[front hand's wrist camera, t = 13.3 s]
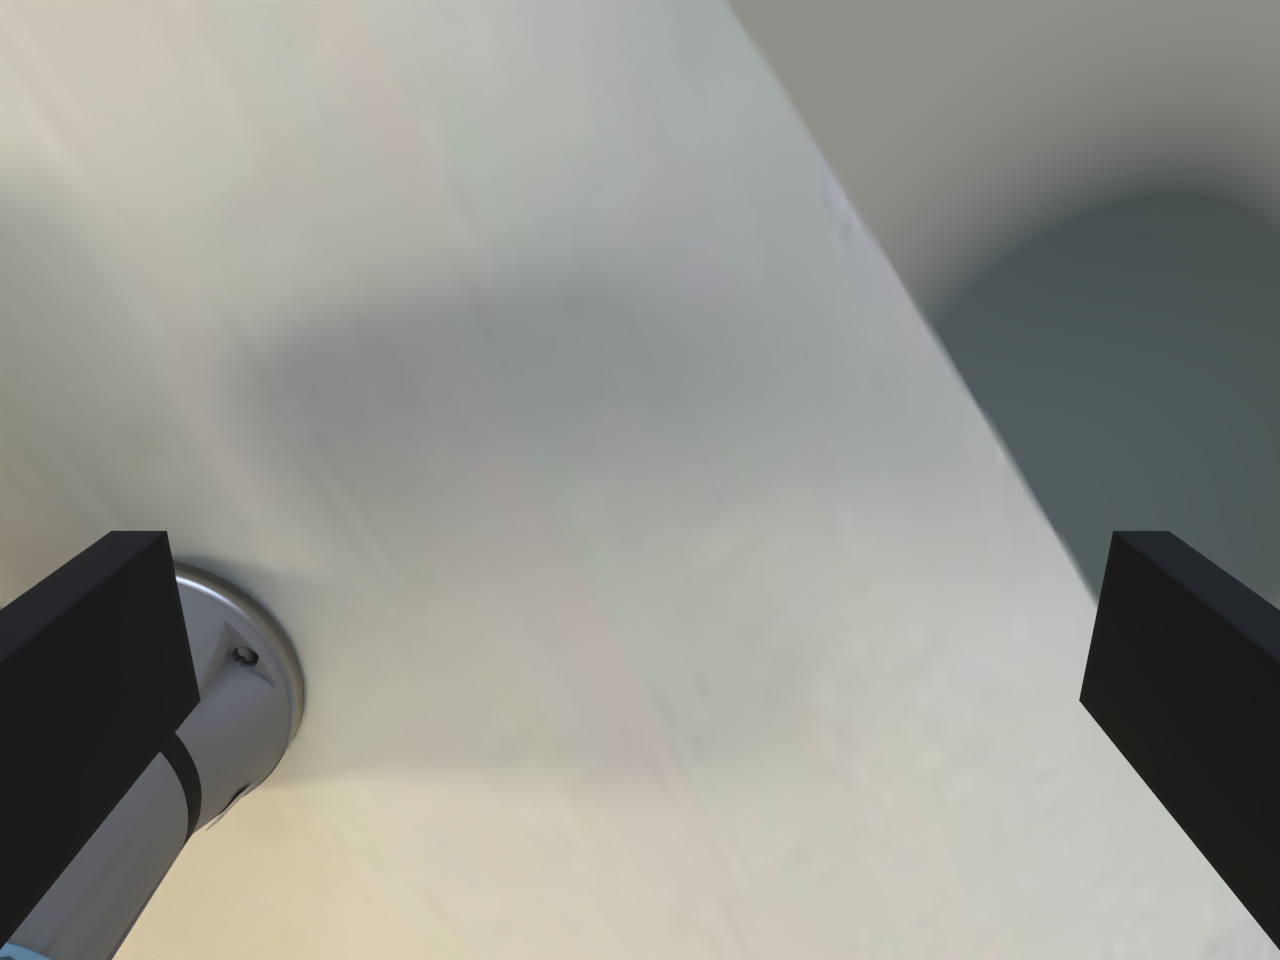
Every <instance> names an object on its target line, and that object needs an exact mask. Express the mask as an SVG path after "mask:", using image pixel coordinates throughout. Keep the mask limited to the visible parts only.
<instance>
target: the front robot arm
mask: <svg viewBox="0 0 1280 960" xmlns="http://www.w3.org/2000/svg"><path fill="white" fill-rule="evenodd" d="M303 698H304V693H303V682H302V676H301V671H300V668H299V665H298V662H297V659H296V656H295V654H294V652H293V649H292V647H291V646H290V644H289V642H288V640H287V638H286V637H285V635H284V634H283V632H282V631H281V629H280V628H279V626H278V625H277V624H276V623H275V621H274V620H273V619H272V618H271V617H270V615H269V614H268V613H267V612H266V611H265V610H264V609H263V608H262V607H261V606H260V605H258V604H257V603H256V602H255V601H254V600H253V599H252V598H250V597H249V596H248V595H246V594H245V593H244V592H242V591H241V590H240V589H238V588H237V587H235V586H233V585H232V584H230V583H228V582H227V581H225V580H223V579H221V578H219V577H217V576H215V575H213V574H211V573H208V572H206V571H203V570H201V569H198V568H195V567H192V566H189V565H186V564H181V563H177V562H173V560H172V555H171V550H170V545H169V540H168V535H167V531H111V532H109V533H108V534H107V535H105V536H104V537H102V538H101V539H100V540H98V541H97V542H95V543H94V544H93V545H91V546H90V547H88V548H87V549H86V550H84V551H83V552H81V553H80V554H79V555H77V556H76V557H74V558H73V559H72V560H70V561H69V562H67V563H66V564H65V565H63V566H62V567H60V568H59V569H58V570H56V571H55V572H53V573H52V574H51V575H49V576H48V577H46V578H45V579H44V580H42V581H41V582H39V583H38V584H37V585H35V586H34V587H32V588H31V589H30V590H28V591H27V592H25V593H24V594H23V595H21V596H20V597H18V598H17V599H16V600H14V601H13V602H11V603H10V604H9V605H7V606H6V607H4V608H3V609H2V610H0V960H112V959H113V957H114V956H115V954H116V952H117V951H118V949H119V948H120V946H121V945H122V943H123V941H124V940H125V938H126V937H127V935H128V934H129V932H130V930H131V929H132V927H133V926H134V924H135V923H136V921H137V919H138V918H139V916H140V915H141V913H142V912H143V910H144V908H145V907H146V905H147V904H148V902H149V901H150V899H151V897H152V896H153V894H154V893H155V891H156V890H157V888H158V886H159V885H160V883H161V882H162V880H163V879H164V877H165V875H166V874H167V872H168V871H169V869H170V868H171V866H172V864H173V863H174V861H175V860H176V858H177V857H178V855H179V853H180V852H181V850H182V849H183V847H184V846H185V844H186V843H187V841H188V840H189V838H190V837H191V835H192V834H193V833H194V832H196V831H197V830H199V829H200V828H201V827H203V826H204V825H205V824H207V823H208V822H210V821H211V820H212V819H214V818H215V817H216V816H218V815H219V814H221V813H222V812H223V811H224V812H223V813H222V814H221V815H220V816H219V817H218V818H217V819H216V820H215V821H214V822H213V823H212V824H211V826H210V827H209V828H211V827H212V826H213V825H215V824H216V823H217V822H219V821H220V820H221V819H222V818H223V816H224V815H225V814H226V813H227V812H228V811H229V810H230V809H231V808H232V807H233V806H234V805H235V804H236V803H237V802H238V801H239V799H241V798H242V797H243V796H245V795H246V794H248V793H249V792H250V791H252V790H253V789H255V788H256V787H257V786H259V785H260V784H261V783H262V782H263V781H264V780H265V779H266V778H267V777H268V776H269V775H270V774H271V773H272V772H273V770H274V769H275V768H276V766H277V765H278V763H279V762H280V760H281V758H282V757H283V755H284V753H285V751H286V750H287V748H288V746H289V745H290V743H291V741H292V740H293V738H294V736H295V734H296V731H297V729H298V727H299V723H300V720H301V716H302V710H303ZM1079 701H1080V702H1081V703H1082V705H1083V706H1084V707H1085V708H1086V710H1087V711H1088V712H1089V713H1090V714H1091V716H1092V717H1093V718H1094V719H1095V721H1096V722H1097V723H1098V724H1099V726H1100V727H1101V728H1102V729H1103V731H1104V732H1105V733H1106V734H1107V736H1108V737H1109V738H1110V739H1111V741H1112V742H1113V743H1114V744H1115V746H1116V747H1117V748H1118V749H1119V751H1120V752H1121V753H1122V754H1123V756H1124V757H1125V758H1126V759H1127V761H1128V762H1129V763H1130V764H1131V766H1132V767H1133V768H1134V769H1135V771H1136V772H1137V773H1138V774H1139V776H1140V777H1141V778H1142V779H1143V780H1144V782H1145V783H1146V784H1147V785H1148V787H1149V788H1150V789H1151V790H1152V792H1153V793H1154V794H1155V795H1156V797H1157V798H1158V799H1159V800H1160V802H1161V803H1162V804H1163V805H1164V807H1165V808H1166V809H1167V810H1168V812H1169V813H1170V814H1171V815H1172V817H1173V818H1174V819H1175V820H1176V822H1177V823H1178V824H1179V825H1180V827H1181V828H1182V829H1183V830H1184V832H1185V833H1186V834H1187V835H1188V837H1189V838H1190V839H1191V840H1192V842H1193V843H1194V844H1195V845H1196V846H1197V848H1198V849H1199V850H1200V851H1201V853H1202V854H1203V855H1204V856H1205V858H1206V859H1207V860H1208V861H1209V863H1210V864H1211V865H1212V866H1213V868H1214V869H1215V870H1216V871H1217V873H1218V874H1219V875H1220V876H1221V878H1222V879H1223V880H1224V881H1225V883H1226V884H1227V885H1228V886H1229V888H1230V889H1231V890H1232V891H1233V893H1234V894H1235V895H1236V896H1237V898H1238V899H1239V900H1240V901H1241V903H1242V904H1243V905H1244V906H1245V908H1246V909H1247V910H1248V911H1249V913H1250V914H1251V915H1252V916H1253V917H1254V919H1255V920H1256V921H1257V922H1258V924H1259V925H1260V926H1261V927H1262V929H1263V930H1264V931H1265V932H1266V934H1267V935H1268V936H1269V937H1270V939H1271V940H1272V941H1273V942H1274V944H1275V945H1276V946H1277V947H1278V949H1279V950H1280V610H1278V609H1277V608H1276V607H1274V606H1273V605H1271V604H1270V603H1269V602H1267V601H1266V600H1264V599H1263V598H1262V597H1260V596H1259V595H1257V594H1256V593H1255V592H1253V591H1252V590H1250V589H1249V588H1248V587H1246V586H1245V585H1243V584H1242V583H1241V582H1239V581H1238V580H1236V579H1235V578H1234V577H1232V576H1231V575H1229V574H1228V573H1227V572H1225V571H1224V570H1222V569H1221V568H1220V567H1218V566H1217V565H1215V564H1214V563H1213V562H1211V561H1210V560H1208V559H1207V558H1206V557H1204V556H1203V555H1201V554H1200V553H1199V552H1197V551H1196V550H1194V549H1193V548H1192V547H1190V546H1189V545H1187V544H1186V543H1185V542H1183V541H1182V540H1180V539H1179V538H1178V537H1176V536H1175V535H1173V534H1172V533H1171V532H1169V531H1113V535H1112V540H1111V545H1110V550H1109V555H1108V560H1107V565H1106V570H1105V575H1104V580H1103V585H1102V590H1101V595H1100V600H1099V605H1098V610H1097V615H1096V620H1095V625H1094V630H1093V635H1092V640H1091V645H1090V649H1089V654H1088V659H1087V664H1086V669H1085V674H1084V679H1083V684H1082V689H1081V694H1080V699H1079ZM209 828H208V829H209ZM208 829H207V830H208ZM207 830H206V831H207Z"/></svg>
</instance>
